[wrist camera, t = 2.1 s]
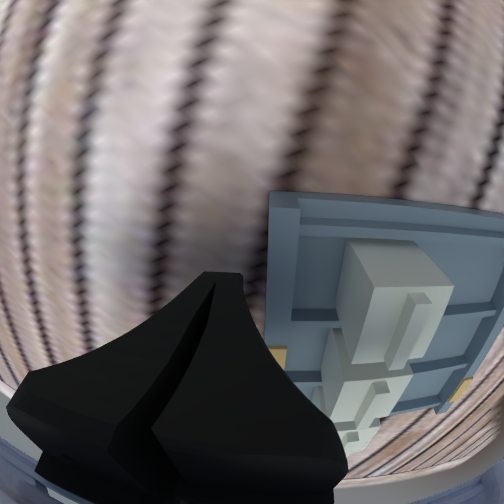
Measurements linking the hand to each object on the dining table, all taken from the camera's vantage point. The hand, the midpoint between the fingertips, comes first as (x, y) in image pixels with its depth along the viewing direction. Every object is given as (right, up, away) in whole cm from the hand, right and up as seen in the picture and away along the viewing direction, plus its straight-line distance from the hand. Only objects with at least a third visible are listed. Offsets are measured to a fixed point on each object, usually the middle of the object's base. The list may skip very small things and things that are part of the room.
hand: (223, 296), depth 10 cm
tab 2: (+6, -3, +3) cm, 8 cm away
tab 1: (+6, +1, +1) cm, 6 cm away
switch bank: (+9, -3, +4) cm, 10 cm away
